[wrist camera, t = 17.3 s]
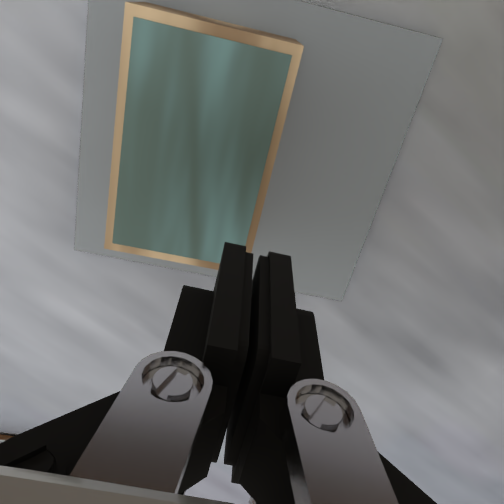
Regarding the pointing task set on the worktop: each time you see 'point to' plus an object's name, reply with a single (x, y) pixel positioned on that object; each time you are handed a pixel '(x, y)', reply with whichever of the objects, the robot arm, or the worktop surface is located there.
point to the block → (194, 133)
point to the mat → (293, 135)
